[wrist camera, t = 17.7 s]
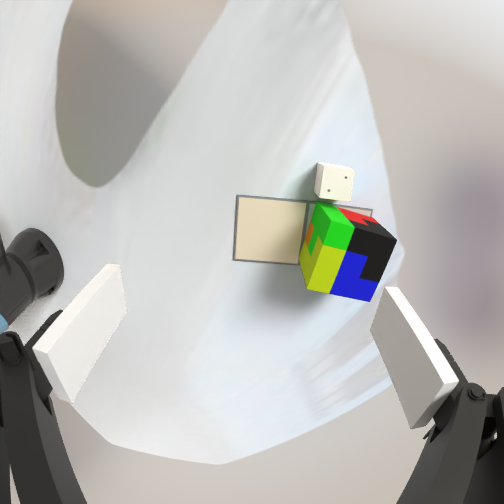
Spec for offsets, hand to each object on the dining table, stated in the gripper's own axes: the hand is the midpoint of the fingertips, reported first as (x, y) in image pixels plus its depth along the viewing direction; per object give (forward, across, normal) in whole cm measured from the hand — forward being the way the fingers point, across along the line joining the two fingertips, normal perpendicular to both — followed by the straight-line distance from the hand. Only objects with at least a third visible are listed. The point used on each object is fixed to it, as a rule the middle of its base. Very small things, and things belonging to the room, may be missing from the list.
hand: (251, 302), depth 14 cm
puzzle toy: (+33, +14, -8) cm, 36 cm away
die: (+33, +11, +2) cm, 35 cm away
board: (+33, +8, -8) cm, 35 cm away
